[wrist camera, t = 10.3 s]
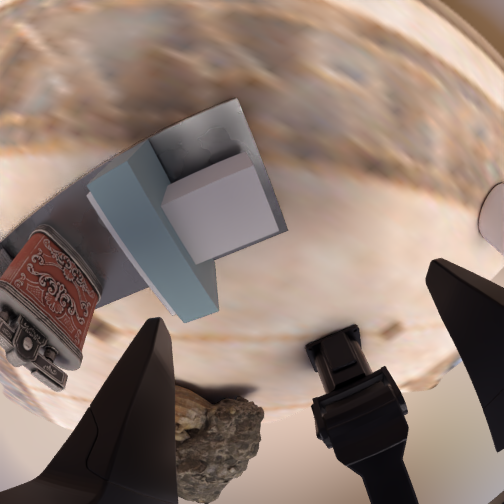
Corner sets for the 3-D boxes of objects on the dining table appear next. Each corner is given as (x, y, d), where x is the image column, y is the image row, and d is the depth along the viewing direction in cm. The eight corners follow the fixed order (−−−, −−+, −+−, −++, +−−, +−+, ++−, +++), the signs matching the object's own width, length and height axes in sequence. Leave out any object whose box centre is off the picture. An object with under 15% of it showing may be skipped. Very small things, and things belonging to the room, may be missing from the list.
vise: (284, 222, 22) (309, 272, 17) (48, 322, 24) (30, 368, 19) (235, 97, 16) (249, 103, 11) (-11, 251, 18) (-42, 292, 13)
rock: (237, 515, 27) (154, 531, 17) (178, 465, 37) (100, 457, 27) (295, 417, 32) (221, 409, 23) (221, 378, 42) (147, 352, 33)
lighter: (26, 237, 17) (-36, 327, 9) (48, 216, 17) (-21, 310, 9) (86, 304, 22) (56, 403, 13) (111, 290, 21) (83, 397, 13)
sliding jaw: (278, 236, 21) (298, 280, 16) (179, 276, 21) (176, 326, 17) (224, 103, 15) (232, 110, 11) (107, 162, 16) (77, 191, 11)
